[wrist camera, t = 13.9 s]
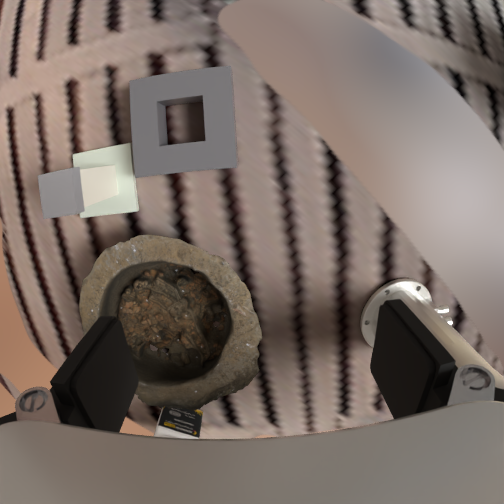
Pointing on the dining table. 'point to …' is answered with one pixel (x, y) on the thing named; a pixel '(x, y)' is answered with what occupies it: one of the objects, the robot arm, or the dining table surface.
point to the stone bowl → (176, 319)
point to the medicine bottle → (179, 423)
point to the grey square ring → (155, 131)
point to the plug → (75, 189)
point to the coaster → (124, 173)
